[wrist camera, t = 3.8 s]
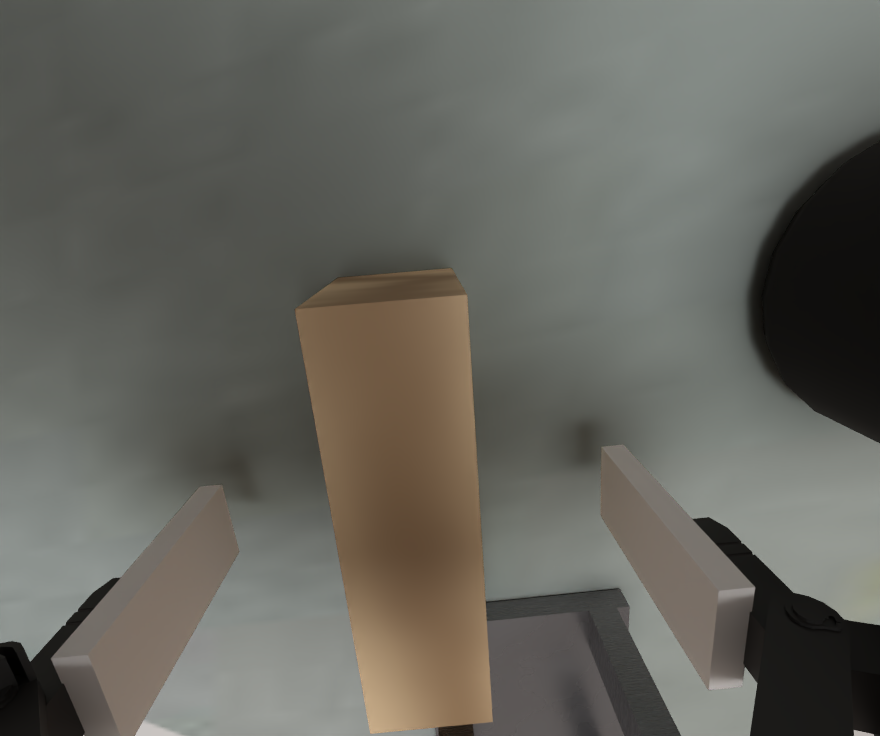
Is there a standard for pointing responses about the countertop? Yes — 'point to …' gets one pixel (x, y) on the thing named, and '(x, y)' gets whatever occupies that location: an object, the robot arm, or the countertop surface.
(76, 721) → the robot arm
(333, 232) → the countertop surface
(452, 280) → the block
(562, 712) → the bracket
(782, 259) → the coffee jar
